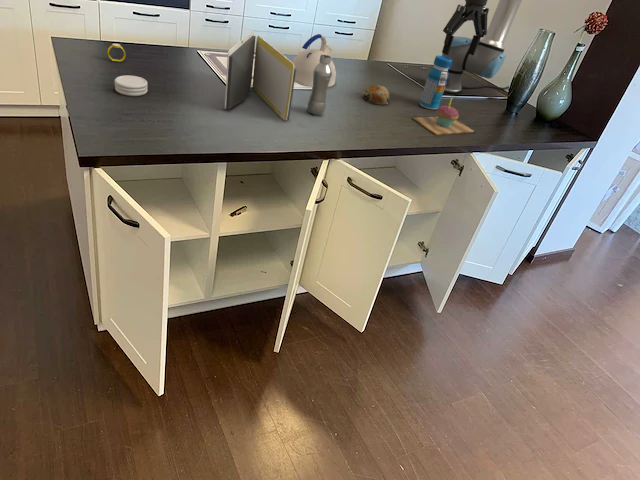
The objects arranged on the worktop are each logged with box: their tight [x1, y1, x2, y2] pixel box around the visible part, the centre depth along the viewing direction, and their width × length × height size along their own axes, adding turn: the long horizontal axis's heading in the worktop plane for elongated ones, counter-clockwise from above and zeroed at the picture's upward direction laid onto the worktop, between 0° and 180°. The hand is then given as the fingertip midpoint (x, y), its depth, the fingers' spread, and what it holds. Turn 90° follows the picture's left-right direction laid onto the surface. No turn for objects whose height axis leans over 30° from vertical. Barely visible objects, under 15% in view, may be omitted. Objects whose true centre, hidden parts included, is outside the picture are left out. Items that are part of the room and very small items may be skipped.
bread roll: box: [363, 84, 390, 106], centre depth 192 cm, size 10×10×8 cm
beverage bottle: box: [419, 55, 452, 111], centre depth 194 cm, size 8×8×20 cm
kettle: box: [291, 33, 337, 88], centre depth 196 cm, size 20×21×18 cm
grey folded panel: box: [224, 30, 296, 122], centre depth 161 cm, size 35×22×20 cm, turn 30°
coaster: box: [114, 74, 149, 97], centre depth 155 cm, size 10×10×4 cm
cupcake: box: [436, 94, 460, 127], centre depth 180 cm, size 9×8×12 cm
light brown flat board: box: [412, 116, 475, 136], centre depth 184 cm, size 20×14×1 cm
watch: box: [107, 43, 127, 63], centre depth 174 cm, size 6×3×6 cm, turn 114°
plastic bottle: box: [307, 55, 332, 116], centre depth 165 cm, size 6×7×20 cm
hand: (458, 54), depth 178 cm, fingers open, 13 cm apart
